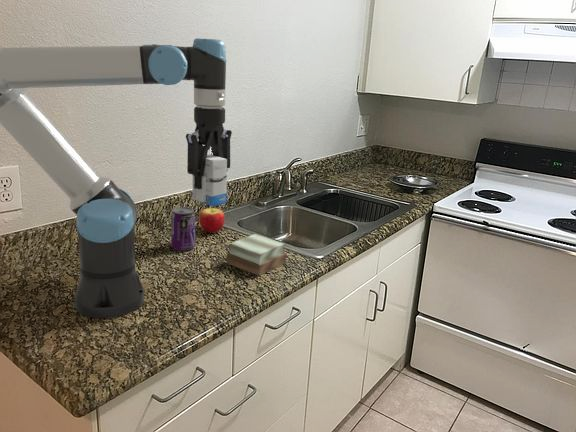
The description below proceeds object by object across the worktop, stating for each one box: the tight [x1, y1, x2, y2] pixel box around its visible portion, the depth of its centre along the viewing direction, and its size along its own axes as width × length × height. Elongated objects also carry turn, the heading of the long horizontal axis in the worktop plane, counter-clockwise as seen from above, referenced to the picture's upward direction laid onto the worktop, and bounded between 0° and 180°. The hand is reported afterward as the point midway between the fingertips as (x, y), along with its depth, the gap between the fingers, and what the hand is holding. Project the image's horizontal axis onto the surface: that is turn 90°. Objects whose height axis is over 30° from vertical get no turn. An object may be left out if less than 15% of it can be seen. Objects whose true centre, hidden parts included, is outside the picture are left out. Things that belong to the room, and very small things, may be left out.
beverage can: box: [170, 206, 196, 252], centre depth 144 cm, size 7×7×12 cm
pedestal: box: [226, 233, 287, 277], centre depth 138 cm, size 12×12×6 cm
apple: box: [198, 206, 226, 234], centre depth 159 cm, size 8×8×10 cm
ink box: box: [192, 153, 228, 207], centre depth 123 cm, size 8×5×12 cm, turn 47°
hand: (209, 198), depth 125 cm, fingers closed on ink box, 5 cm apart
